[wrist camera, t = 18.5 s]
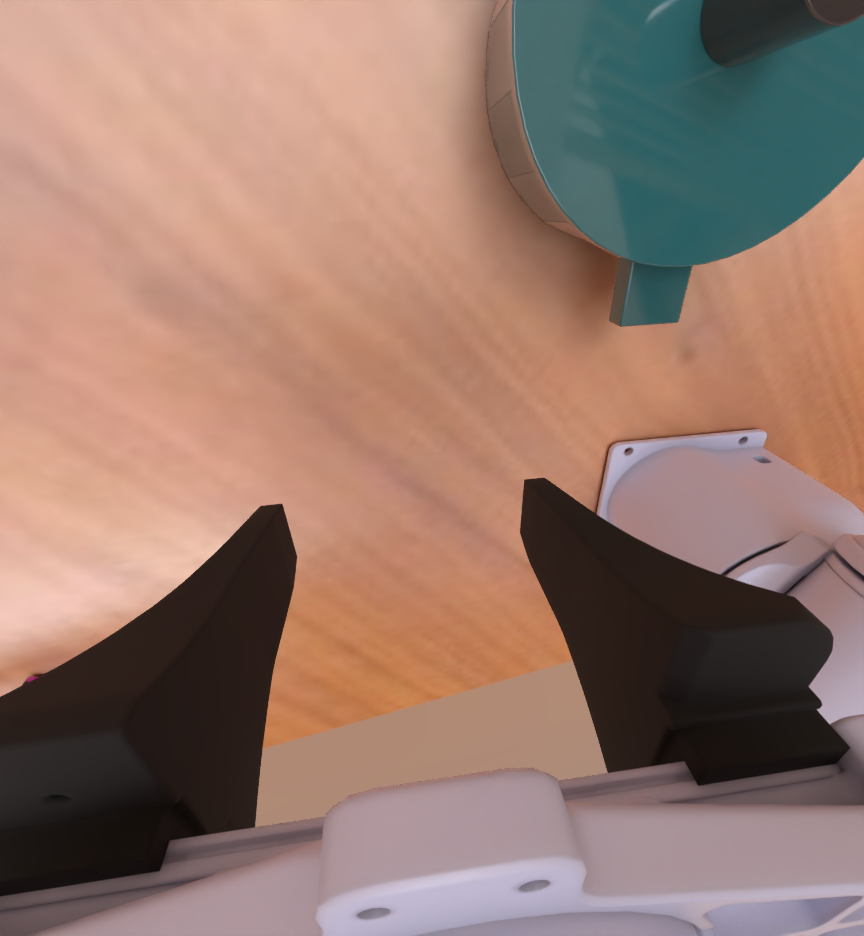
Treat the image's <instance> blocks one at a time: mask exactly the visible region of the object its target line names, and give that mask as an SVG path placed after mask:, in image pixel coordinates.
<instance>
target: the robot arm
mask: <svg viewBox="0 0 864 936" xmlns="http://www.w3.org/2000/svg"><path fill="white" fill-rule="evenodd" d="M741 438H742V439H741ZM766 438H767V433H766V432H765V431H763V430H761V429H751V430H741V431H730V432H720V433H709V434H699V435H688V436H677V437H667V438H656V439H646V440H635V441H625V442H617V443H615V444H613V445H612V446H611V447H610V449H609V453H608V458H607V463H606V468H605V473H604V478H603V483H602V488H601V493H600V498H599V504H598V509H597V514H595V513H594V512H592V511H591V510H589V509H588V508H586V507H585V506H583V505H582V504H581V503H579V502H578V501H576V500H575V499H574V498H572V497H571V496H569V495H568V494H567V493H565V492H564V491H562V490H561V489H560V488H558V487H557V486H556V485H554V484H553V483H551V482H550V481H548V480H547V479H545V478H537V479H527V480H524V491H523V503H522V515H521V527H520V534H521V537H522V540H523V544H524V547H525V550H526V553H527V556H528V559H529V562H530V564H531V566H532V568H533V570H534V572H535V574H536V577H537V579H538V581H539V583H540V585H541V587H542V589H543V591H544V593H545V595H546V598H547V600H548V602H549V604H550V606H551V608H552V610H553V612H554V614H555V616H556V618H557V621H558V623H559V625H560V627H561V630H562V632H563V634H564V637H565V640H566V643H567V645H568V648H569V651H570V654H571V657H572V659H573V662H574V665H575V668H576V671H577V674H578V677H579V680H580V683H581V686H582V689H583V692H584V695H585V698H586V701H587V704H588V708H589V711H590V714H591V717H592V720H593V724H594V727H595V730H596V734H597V737H598V740H599V744H600V747H601V751H602V754H603V758H604V761H605V764H606V768H607V771H608V773H605V774H598V775H592V776H586V777H579V778H572V779H566V780H559V781H557V779H556V778H555V777H553V776H552V775H550V774H548V773H545V772H542V771H540V770H537V769H534V768H505V769H499V770H492V771H485V772H479V773H472V774H465V775H459V776H453V777H446V778H439V779H433V780H425V781H419V782H412V783H406V784H400V785H393V786H385V787H379V788H374V789H370V790H367V791H364V792H360V793H356V794H353V795H349V796H348V797H346V798H345V799H343V800H342V801H341V802H339V803H338V804H336V805H335V806H333V807H332V808H331V809H330V810H329V811H328V812H327V813H326V816H325V817H319V818H313V819H306V820H300V821H293V822H287V823H280V824H274V825H267V826H261V827H255V819H256V808H257V796H258V786H259V776H260V766H261V757H262V747H263V739H264V731H265V723H266V716H267V708H268V701H269V694H270V687H271V680H272V674H273V669H274V664H275V659H276V655H277V651H278V647H279V643H280V639H281V635H282V632H283V628H284V624H285V620H286V616H287V612H288V608H289V604H290V600H291V596H292V592H293V588H294V580H295V572H296V562H297V555H296V551H295V548H294V544H293V540H292V537H291V533H290V530H289V526H288V523H287V519H286V515H285V512H284V508H283V505H282V504H276V505H266V506H260V507H259V508H258V509H257V510H256V511H255V512H254V513H253V514H252V516H251V517H250V518H249V519H248V520H247V521H246V522H245V523H244V524H243V525H242V526H241V527H240V528H239V529H238V530H237V531H236V532H235V533H234V534H233V535H232V536H231V538H230V539H229V540H228V541H227V542H226V543H225V544H224V545H223V546H222V547H221V548H220V549H219V550H218V551H217V552H216V553H215V554H214V555H212V556H211V557H210V558H209V559H208V560H207V561H206V562H205V563H204V564H203V565H202V566H201V567H200V568H199V569H197V570H196V571H195V572H194V573H193V574H192V575H191V576H190V577H189V578H188V579H186V580H185V581H184V582H183V583H182V584H181V585H179V586H178V587H177V588H176V589H174V590H173V591H172V592H171V593H169V594H168V595H167V596H166V597H164V598H163V599H162V600H160V601H159V602H158V603H157V604H155V605H154V606H153V607H151V608H150V609H148V610H147V611H146V612H144V613H143V614H141V615H140V616H138V617H137V618H135V619H134V620H133V621H131V622H130V623H128V624H127V625H125V626H124V627H122V628H121V629H120V630H118V631H117V632H115V633H114V634H112V635H110V636H109V637H107V638H106V639H104V640H102V641H101V642H99V643H98V644H96V645H94V646H93V647H91V648H89V649H88V650H86V651H84V652H83V653H81V654H79V655H78V656H76V657H74V658H73V659H71V660H69V661H67V662H66V663H64V664H62V665H60V666H58V667H57V668H55V669H53V670H51V671H49V672H47V673H45V674H43V675H42V676H40V677H38V678H36V679H34V680H32V681H30V682H28V683H26V684H25V685H23V686H21V687H19V688H17V689H15V690H13V691H11V692H9V693H7V694H5V695H3V696H1V697H0V936H864V514H863V513H862V511H861V510H860V509H859V508H858V507H856V506H855V505H854V504H853V503H852V502H850V501H849V500H848V499H846V498H845V497H843V496H842V495H840V494H838V493H837V492H835V491H833V490H832V489H830V488H828V487H827V486H825V485H824V484H822V483H820V482H819V481H817V480H815V479H814V478H812V477H811V476H809V475H807V474H806V473H804V472H802V471H801V470H799V469H798V468H796V467H794V466H793V465H791V464H789V463H788V462H786V461H785V460H783V459H781V458H780V457H778V456H776V455H775V454H773V453H772V452H770V451H768V450H767V449H765V448H763V446H764V443H765V441H766ZM740 439H741V440H740ZM739 440H740V441H739ZM627 448H629V450H628V451H627V452H625V450H626V449H627Z"/></svg>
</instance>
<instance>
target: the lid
mask: <svg viewBox="0 0 864 936" xmlns="http://www.w3.org/2000/svg"><path fill="white" fill-rule="evenodd" d="M508 63H509V72H510V81H511V90H512V99H513V103H514V108H515V113H516V117H517V122H518V127H519V131H520V134H521V137H522V140H523V143H524V146H525V149H526V152H527V155H528V158H529V161H530V164H531V166H532V168H533V170H534V172H535V174H536V176H537V178H538V180H539V182H540V184H541V186H542V189H543V190H544V192H545V193H546V195H547V196H548V198H549V199H550V201H551V202H552V204H553V205H554V207H555V208H556V210H557V211H558V212H559V213H560V214H561V216H562V217H563V218H564V219H565V220H566V221H567V222H568V223H569V224H570V226H571V227H572V228H573V229H574V230H575V231H577V232H578V233H579V234H580V235H582V236H583V237H584V238H585V239H587V240H588V241H589V242H590V243H592V244H593V245H595V246H597V247H599V248H600V249H602V250H604V251H606V252H607V253H609V254H611V255H614V256H617V257H619V258H622V259H625V260H628V261H631V262H635V263H640V264H646V265H652V266H657V267H686V266H693V265H700V264H706V263H710V262H713V261H717V260H720V259H724V258H728V257H730V256H733V255H735V254H738V253H740V252H742V251H745V250H747V249H750V248H752V247H754V246H756V245H758V244H759V243H761V242H763V241H765V240H767V239H769V238H770V237H772V236H774V235H776V234H778V233H779V232H781V231H782V230H783V229H785V228H786V227H788V226H789V225H791V224H792V223H794V222H795V221H797V220H798V219H799V218H801V217H802V216H804V215H805V214H806V213H807V212H808V211H810V210H811V209H812V208H813V207H814V206H816V205H817V204H818V203H819V202H820V201H822V200H823V199H824V198H825V197H826V196H827V195H828V194H830V193H831V192H832V191H833V190H834V189H835V188H836V187H837V186H838V185H839V184H840V183H841V182H842V181H843V180H844V179H845V178H846V177H847V176H848V175H849V174H850V173H851V172H852V171H853V169H854V168H855V167H856V166H857V165H858V164H859V163H860V161H861V160H862V159H863V158H864V0H509V6H508Z"/></svg>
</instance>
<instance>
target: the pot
mask: <svg viewBox="0 0 864 936" xmlns="http://www.w3.org/2000/svg"><path fill="white" fill-rule="evenodd" d="M508 6H509V0H497V2H496V6H495V10H494V14H493V18H492V21H491V24H490V30H489V41H488V47H487V62H486V102H487V109H488V117H489V124H490V129H491V133H492V137H493V141H494V145H495V149H496V151H497V154H498V157H499V159H500V162H501V165H502V167H503V169H504V171H505V173H506V176H507V177H508V179H509V181H510V183H511V185H512V186H513V188H514V189H515V191H516V192H517V194H518V195H519V196H520V198H521V199H522V201H523V202H524V203H525V204H526V205H527V206H528V207H529V208H530V209H531V210H532V211H533V212H534V213H535V214H536V215H537V216H538V217H539V218H540V219H541V220H543V222H545V223H548V224H550V225H551V226H553V227H555V228H557V229H559V230H560V231H563V232H566V233H569V234H571V235H574V236H576V237H578V238H581V239H583V240H586V241H588V240H587V239H585V238H584V237H583V236H582V235H580V234H579V233H578V232H577V231H575V230H574V229H573V228H572V227H571V226H570V224H569V223H568V222H567V221H566V220H565V219H564V218H563V217H562V216H561V214H560V213H559V212H558V211H557V210H556V208H555V207H554V205H553V204H552V202H551V201H550V199H549V198H548V196H547V195H546V193H545V192H544V190H543V189H542V186H541V184H540V182H539V180H538V178H537V176H536V174H535V172H534V170H533V168H532V166H531V164H530V161H529V158H528V155H527V152H526V149H525V146H524V143H523V140H522V137H521V134H520V131H519V127H518V122H517V117H516V113H515V108H514V103H513V99H512V90H511V81H510V72H509V63H508ZM691 270H692V266H686V267H657V266H652V265H646V264H640V263H635V262H631V261H628V260H625V259H622V258H619V263H618V269H617V275H616V281H615V287H614V293H613V299H612V305H611V311H610V317H609V321H610V322H612V323H614V324H616V325H618V326H620V327H625V326H638V325H652V324H665V323H676V322H678V321H679V317H680V313H681V309H682V305H683V301H684V297H685V293H686V289H687V285H688V281H689V277H690V274H691Z"/></svg>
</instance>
